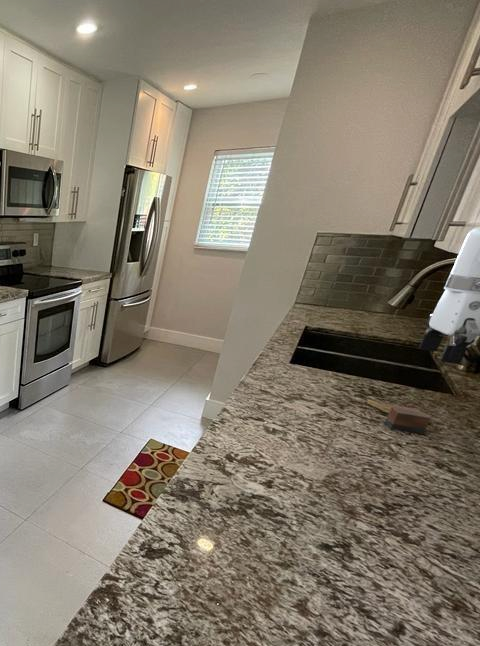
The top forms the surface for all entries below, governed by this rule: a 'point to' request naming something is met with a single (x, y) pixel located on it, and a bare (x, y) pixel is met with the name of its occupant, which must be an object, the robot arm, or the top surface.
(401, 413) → the eraser
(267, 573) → the top surface
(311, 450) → the top surface
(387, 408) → the shard
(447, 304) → the robot arm
